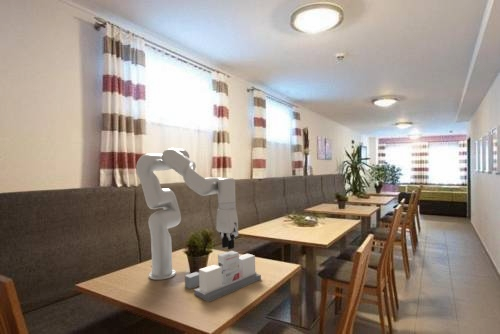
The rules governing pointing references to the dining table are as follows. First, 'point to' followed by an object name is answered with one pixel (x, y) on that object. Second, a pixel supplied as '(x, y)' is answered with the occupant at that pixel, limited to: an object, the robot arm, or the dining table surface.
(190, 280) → the block
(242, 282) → the rail panel
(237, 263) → the ink box
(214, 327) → the dining table surface
